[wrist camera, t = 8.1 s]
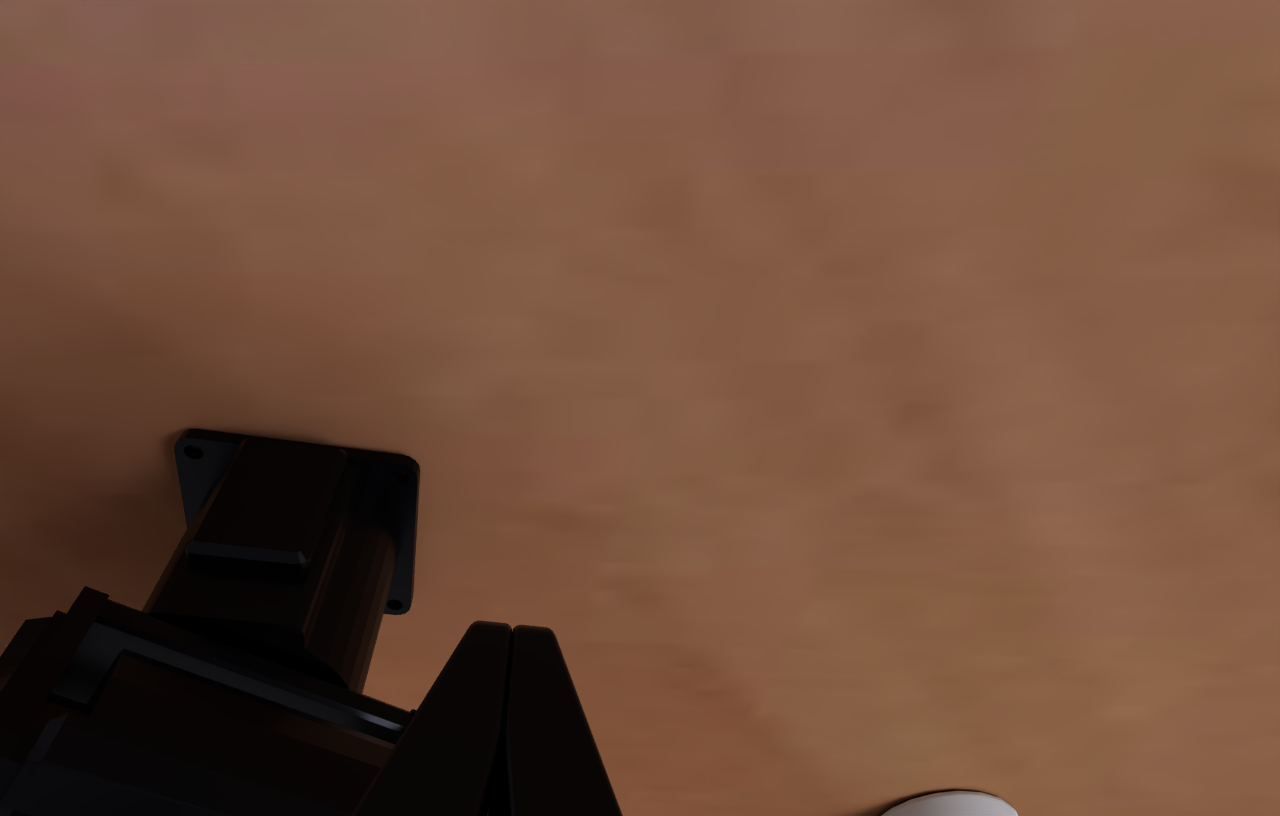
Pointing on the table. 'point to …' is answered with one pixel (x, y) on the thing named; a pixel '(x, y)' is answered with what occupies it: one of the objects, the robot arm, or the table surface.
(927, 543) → the table surface
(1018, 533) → the table surface
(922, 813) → the spray bottle
